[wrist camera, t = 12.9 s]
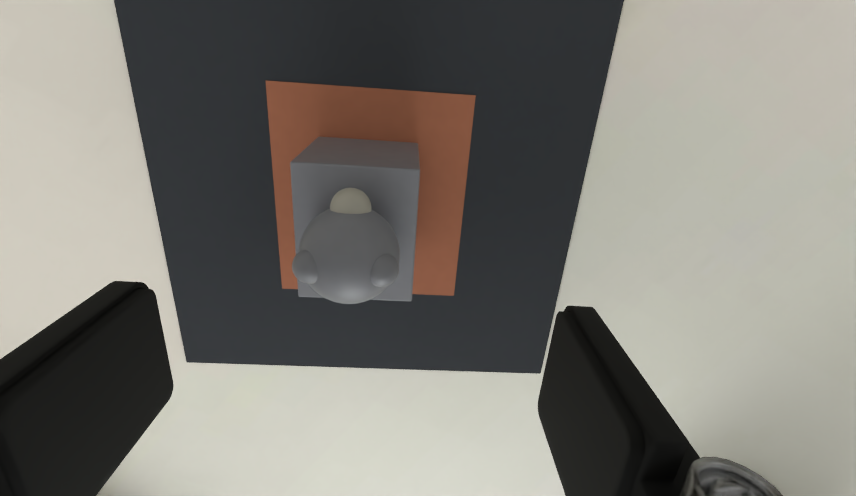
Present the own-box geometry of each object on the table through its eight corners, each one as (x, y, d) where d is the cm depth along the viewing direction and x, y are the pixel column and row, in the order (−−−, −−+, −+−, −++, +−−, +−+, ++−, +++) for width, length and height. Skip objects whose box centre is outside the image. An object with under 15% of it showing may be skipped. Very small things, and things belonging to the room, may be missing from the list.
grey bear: (418, 142, 17) (422, 197, 11) (411, 250, 19) (411, 351, 13) (317, 136, 17) (259, 188, 11) (321, 245, 19) (274, 347, 13)
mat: (629, -29, 15) (631, -30, 15) (539, 372, 23) (540, 374, 23) (100, -77, 14) (97, -78, 14) (187, 361, 22) (186, 362, 21)
